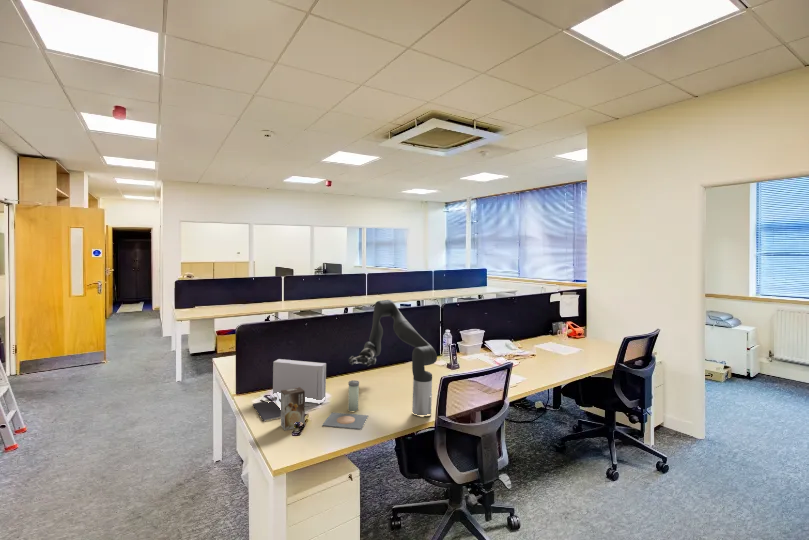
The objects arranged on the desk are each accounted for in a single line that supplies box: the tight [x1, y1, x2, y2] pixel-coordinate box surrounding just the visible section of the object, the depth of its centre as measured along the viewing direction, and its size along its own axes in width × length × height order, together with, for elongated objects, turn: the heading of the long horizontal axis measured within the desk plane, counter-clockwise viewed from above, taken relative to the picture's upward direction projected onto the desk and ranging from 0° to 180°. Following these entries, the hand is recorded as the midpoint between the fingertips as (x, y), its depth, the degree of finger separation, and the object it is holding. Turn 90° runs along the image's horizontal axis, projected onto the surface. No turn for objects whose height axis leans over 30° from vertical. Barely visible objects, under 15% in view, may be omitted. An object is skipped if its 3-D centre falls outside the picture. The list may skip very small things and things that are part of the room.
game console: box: [272, 358, 327, 400], centre depth 200 cm, size 6×27×20 cm, turn 78°
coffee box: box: [280, 387, 306, 431], centre depth 170 cm, size 9×6×16 cm
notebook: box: [252, 401, 281, 422], centre depth 186 cm, size 13×2×21 cm
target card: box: [321, 411, 369, 430], centre depth 177 cm, size 18×14×1 cm
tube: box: [347, 380, 360, 412], centre depth 190 cm, size 5×5×14 cm
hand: (359, 363), depth 200 cm, fingers open, 8 cm apart
